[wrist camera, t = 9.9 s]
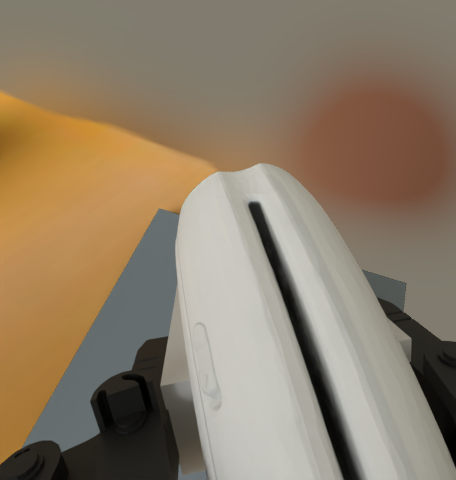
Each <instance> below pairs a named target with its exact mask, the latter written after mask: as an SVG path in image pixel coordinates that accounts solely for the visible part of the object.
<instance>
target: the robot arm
mask: <svg viewBox="0 0 456 480" xmlns="http://www.w3.org/2000/svg"><path fill="white" fill-rule="evenodd" d="M376 298H377V300H378V301H379V303H380V305H381V307H382V309H383V311H384V313H385V315H386V317H387V318H388V320H389V322H390V324H391V326H392V328H393V330H394V332H395V334H396V336H397V338H398V340H399V342H400V344H401V347H402V349H403V351H404V353H405V355H406V357H407V359H408V361H409V363H410V365H411V367H412V370H413V372H414V374H415V376H416V378H417V380H418V383H419V385H420V387H421V389H422V391H423V393H424V396H425V398H426V400H427V402H428V404H429V407H430V409H431V411H432V413H433V416H434V418H435V420H436V422H437V425H438V427H439V429H440V432H441V434H442V436H443V439H444V441H445V444H446V446H447V448H448V451H449V453H450V456H451V458H452V460H453V463H454V465H455V468H456V342H450V341H441V340H440V339H439V338H437V337H436V336H435V335H433V334H432V333H431V332H429V331H428V330H427V329H425V328H424V327H423V326H422V325H420V324H419V323H418V322H416V321H415V320H413V319H411V317H410V316H409V315H407V314H406V313H403V311H402V310H401V309H399V308H398V307H397V306H395V305H394V304H393V303H391V302H388V301H386V300H383V299H381V298H378V297H376ZM90 403H91V406H92V409H93V412H94V415H95V418H96V421H97V424H98V427H99V430H100V433H99V434H97V435H96V436H94V437H93V438H91V439H89V440H87V441H85V442H83V443H81V444H79V445H76V446H74V447H72V448H70V449H68V450H65V451H63V452H61V449H60V446H59V444H57V443H55V442H54V441H52V440H41V441H38V442H35V443H32V444H29V445H27V446H25V447H24V448H22V449H20V450H18V451H17V452H15V453H14V454H12V455H11V456H10V457H9V458H8V459H6V460H5V461H4V462H3V463H2V464H1V465H0V480H178V471H179V463H180V467H181V471H182V475H187V474H192V473H197V472H202V471H206V468H205V464H204V459H203V454H202V447H201V441H200V436H199V430H198V425H197V418H196V413H195V408H194V401H193V395H192V389H191V380H190V376H189V368H188V362H187V356H186V349H185V341H184V334H183V326H182V319H181V310H180V302H179V290H178V283H177V289H176V295H175V301H174V307H173V313H172V319H171V325H170V331H169V336H166V337H160V338H155V339H149V340H146V341H145V342H144V344H143V345H142V346H141V347H140V348H139V349H138V351H137V354H136V357H135V360H134V364H133V367H132V370H130V371H125V372H121V373H119V374H117V375H114V376H112V377H110V378H109V379H107V380H106V381H105V382H103V383H102V384H101V385H100V386H99V387H98V388H97V389H96V390H95V391H94V393H93V395H92V398H91V400H90Z"/></svg>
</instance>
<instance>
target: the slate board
mask: <svg viewBox="0 0 456 480" xmlns="http://www.w3.org/2000/svg"><path fill="white" fill-rule="evenodd" d="M179 216H180V215H179V214H176V213H173V212H169V211H166V210H163V209H159V210H158V211H157V213H156V215H155V217H154V218H153V220H152V222H151V224H150V225H149V227H148V229H147V231H146V232H145V234H144V236H143V237H142V239H141V241H140V243H139V244H138V246H137V248H136V250H135V251H134V253H133V255H132V257H131V258H130V260H129V262H128V264H127V265H126V267H125V269H124V271H123V272H122V274H121V276H120V278H119V279H118V281H117V283H116V285H115V286H114V288H113V290H112V291H111V293H110V295H109V297H108V298H107V300H106V302H105V304H104V305H103V307H102V309H101V311H100V312H99V314H98V316H97V318H96V319H95V321H94V323H93V325H92V326H91V328H90V330H89V332H88V333H87V335H86V337H85V339H84V340H83V342H82V344H81V345H80V347H79V349H78V351H77V352H76V354H75V356H74V358H73V359H72V361H71V363H70V365H69V366H68V368H67V370H66V372H65V373H64V375H63V377H62V379H61V380H60V382H59V384H58V386H57V387H56V389H55V391H54V393H53V394H52V396H51V398H50V399H49V401H48V403H47V405H46V406H45V408H44V410H43V412H42V413H41V415H40V417H39V419H38V420H37V422H36V424H35V426H34V427H33V429H32V431H31V433H30V434H29V436H28V438H27V440H26V441H25V443H24V445H23V447H22V448H24V447H25V446H27V445H29V444H32V443H35V442H38V441H41V440H52V441H54V442H55V443H57V444H59V446H60V449H61V452H63V451H65V450H68V449H70V448H72V447H74V446H76V445H79V444H81V443H83V442H85V441H87V440H89V439H91V438H93V437H94V436H96V435H97V434H99V433H100V430H99V427H98V424H97V421H96V418H95V415H94V412H93V409H92V406H91V403H90V400H91V398H92V395H93V393H94V391H95V390H96V389H97V388H98V387H99V386H100V385H101V384H102V383H103V382H105V381H106V380H107V379H109V378H110V377H112V376H114V375H117V374H119V373H121V372H125V371H130V370H132V367H133V364H134V360H135V357H136V354H137V351H138V349H139V348H140V347H141V346H142V345H143V344H144V342H145V341H146V340H149V339H155V338H160V337H166V336H169V331H170V325H171V319H172V313H173V307H174V301H175V295H176V289H177V283H178V281H177V270H176V256H175V242H176V237H177V230H178V223H179ZM362 272H363V273H364V275H365V277H366V279H367V281H368V282H369V284H370V286H371V288H372V290H373V292H374V294H375V296H376V297H378V298H381V299H383V300H386V301H388V302H391V303H393V304H394V305H395V306H397V307H398V308H399V309H401V310H402V311H403V310H404V300H405V291H406V283H404V282H401V281H397V280H394V279H390V278H388V277H384V276H381V275H378V274H374V273H371V272H368V271H364V270H362ZM22 448H21V449H22ZM178 480H207V475H206V471H202V472H197V473H192V474H187V475H182V471H181V467H180V463H179V471H178Z"/></svg>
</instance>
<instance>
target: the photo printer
mask: <svg viewBox="0 0 456 480" xmlns="http://www.w3.org/2000/svg"><path fill="white" fill-rule="evenodd" d="M175 256H176V270H177V281H178V290H179V302H180V310H181V319H182V326H183V334H184V341H185V349H186V356H187V362H188V368H189V376H190V380H191V389H192V395H193V401H194V408H195V413H196V418H197V425H198V430H199V436H200V441H201V447H202V454H203V459H204V464H205V468H206V475H207V480H456V468H455V465H454V463H453V460H452V458H451V456H450V453H449V451H448V448H447V446H446V444H445V441H444V439H443V436H442V434H441V432H440V429H439V427H438V425H437V422H436V420H435V418H434V416H433V413H432V411H431V409H430V407H429V404H428V402H427V400H426V398H425V396H424V393H423V391H422V389H421V387H420V385H419V383H418V380H417V378H416V376H415V374H414V372H413V370H412V367H411V365H410V363H409V361H408V359H407V357H406V355H405V353H404V351H403V349H402V347H401V344H400V342H399V340H398V338H397V336H396V334H395V332H394V330H393V328H392V326H391V324H390V322H389V320H388V318H387V317H386V315H385V313H384V311H383V309H382V307H381V305H380V303H379V301H378V300H377V298H376V296H375V294H374V292H373V290H372V288H371V286H370V284H369V282H368V281H367V279H366V277H365V275H364V273H363V272H362V270H361V268H360V266H359V265H358V263H357V261H356V259H355V258H354V256H353V255H352V253H351V251H350V249H349V248H348V246H347V244H346V242H345V241H344V239H343V238H342V236H341V235H340V233H339V232H338V230H337V228H336V227H335V225H334V224H333V223H332V221H331V220H330V218H329V217H328V215H327V214H326V212H325V211H324V210H323V208H322V207H321V206H320V204H319V203H318V202H317V201H316V199H315V198H314V197H313V196H312V195H311V194H310V193H309V192H308V191H307V190H306V189H305V188H304V186H303V185H302V184H300V182H299V181H297V180H296V179H295V178H294V177H293V176H292V175H290V174H289V173H288V172H286V171H285V170H283V169H281V168H279V167H277V166H274V165H270V164H264V163H259V164H257V165H255V166H252V167H250V168H248V169H245V170H241V171H236V172H221V171H218V172H216V173H214V174H212V175H210V176H209V177H207V178H206V179H204V180H203V181H202V182H201V183H200V184H199V185H198V186H196V187H195V188H194V189H193V190H192V191H191V193H190V194H189V195H188V196H187V198H186V200H185V201H184V204H183V206H182V208H181V212H180V216H179V223H178V230H177V237H176V242H175Z"/></svg>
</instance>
